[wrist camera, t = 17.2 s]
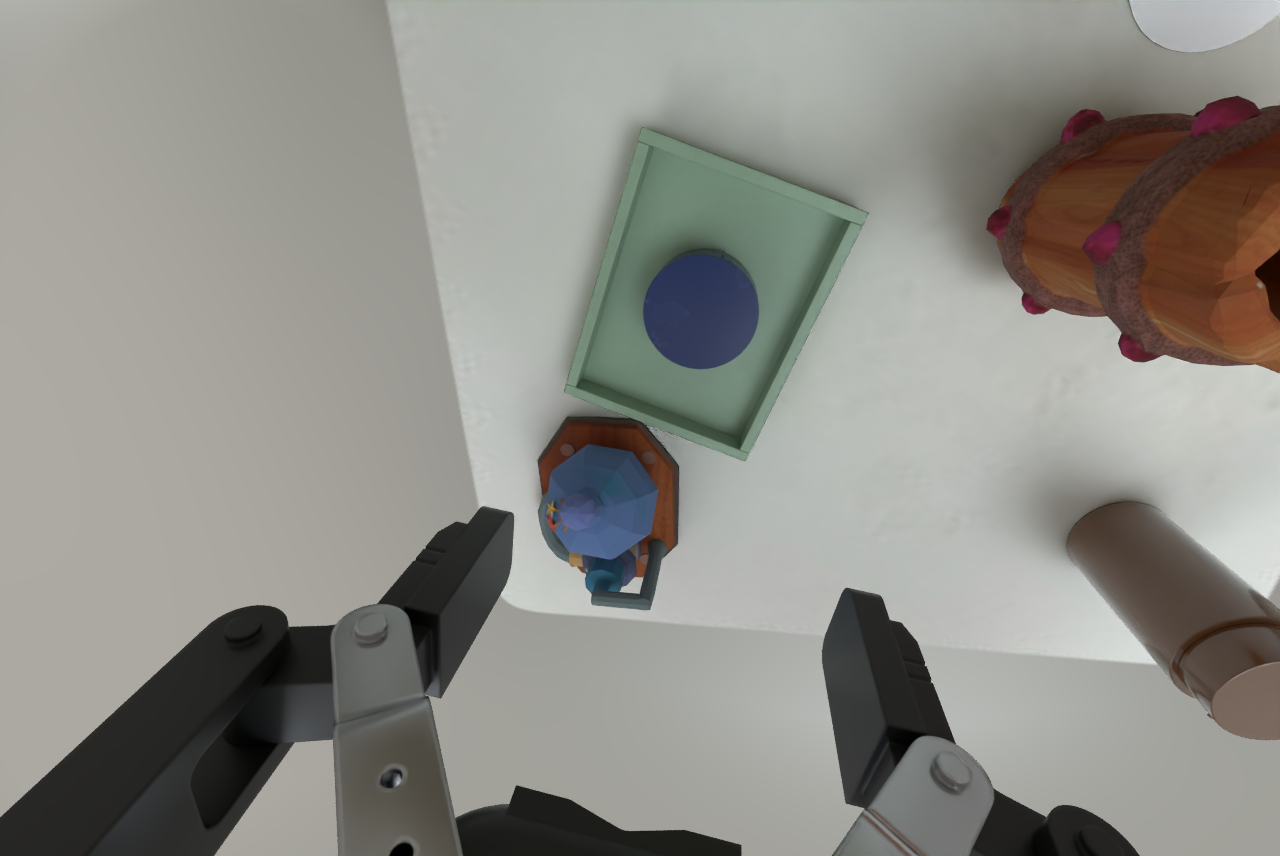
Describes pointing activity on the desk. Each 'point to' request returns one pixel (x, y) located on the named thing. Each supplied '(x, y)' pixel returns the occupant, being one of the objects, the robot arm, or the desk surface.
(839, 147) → the desk surface
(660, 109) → the desk surface
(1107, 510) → the jar
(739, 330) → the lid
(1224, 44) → the champagne flute
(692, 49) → the desk surface
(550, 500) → the model
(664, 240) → the tray
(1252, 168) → the mug
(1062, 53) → the desk surface
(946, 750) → the robot arm
